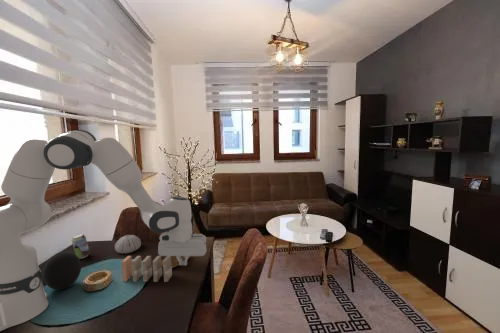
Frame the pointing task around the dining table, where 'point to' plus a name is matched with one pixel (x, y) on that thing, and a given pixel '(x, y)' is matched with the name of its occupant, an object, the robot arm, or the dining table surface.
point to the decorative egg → (62, 270)
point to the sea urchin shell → (127, 244)
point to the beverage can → (80, 246)
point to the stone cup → (174, 261)
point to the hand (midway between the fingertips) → (183, 264)
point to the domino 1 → (127, 268)
